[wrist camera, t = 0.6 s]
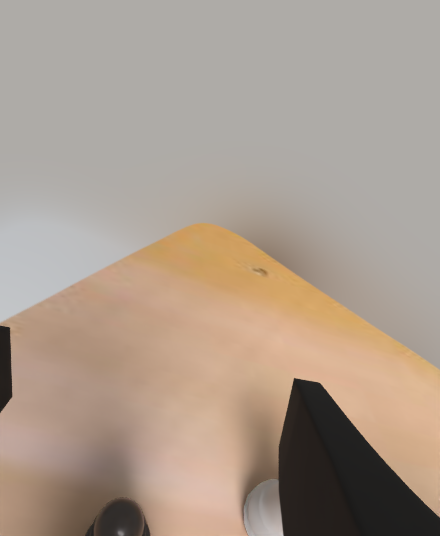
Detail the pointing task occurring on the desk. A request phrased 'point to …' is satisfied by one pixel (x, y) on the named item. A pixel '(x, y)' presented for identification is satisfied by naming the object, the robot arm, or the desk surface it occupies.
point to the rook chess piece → (263, 510)
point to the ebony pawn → (119, 520)
